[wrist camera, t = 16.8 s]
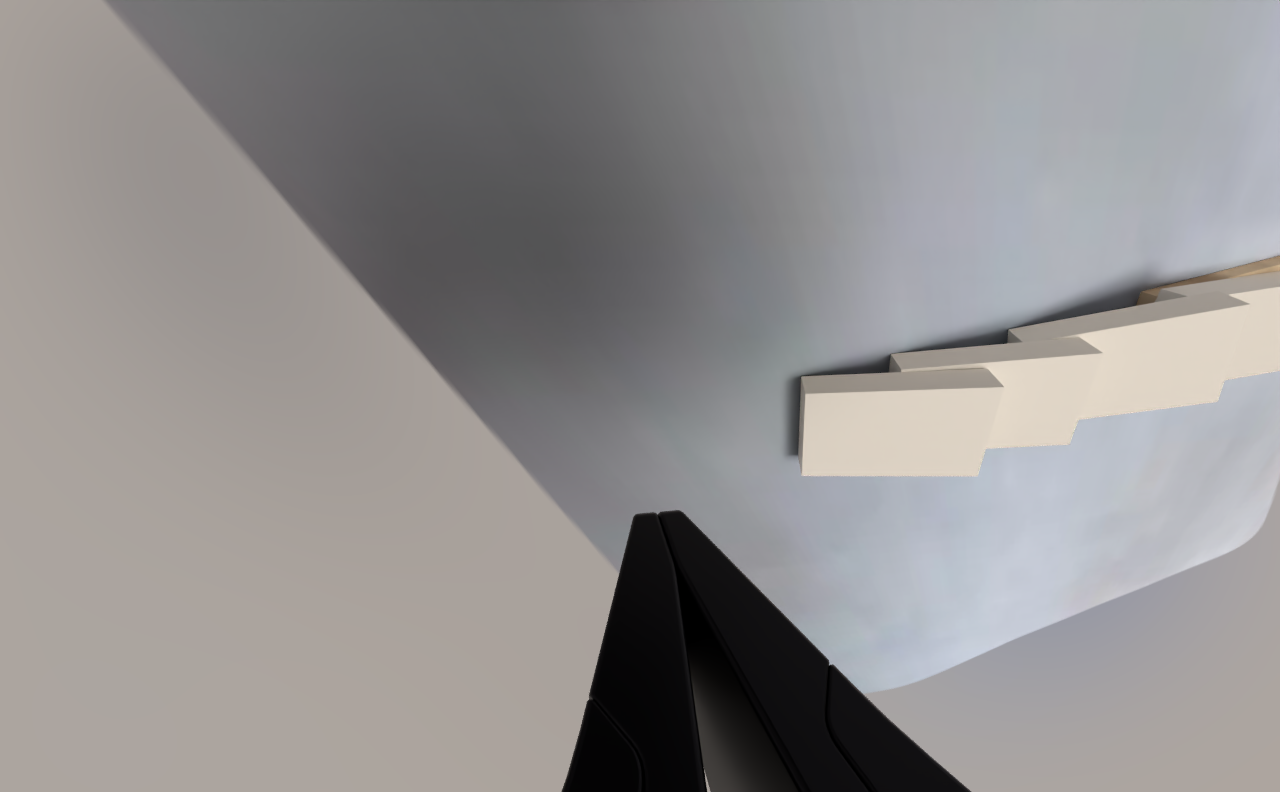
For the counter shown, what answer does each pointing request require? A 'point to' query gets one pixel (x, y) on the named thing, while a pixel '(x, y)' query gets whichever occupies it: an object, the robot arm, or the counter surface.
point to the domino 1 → (897, 423)
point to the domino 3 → (1153, 351)
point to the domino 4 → (1247, 319)
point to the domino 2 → (1023, 385)
